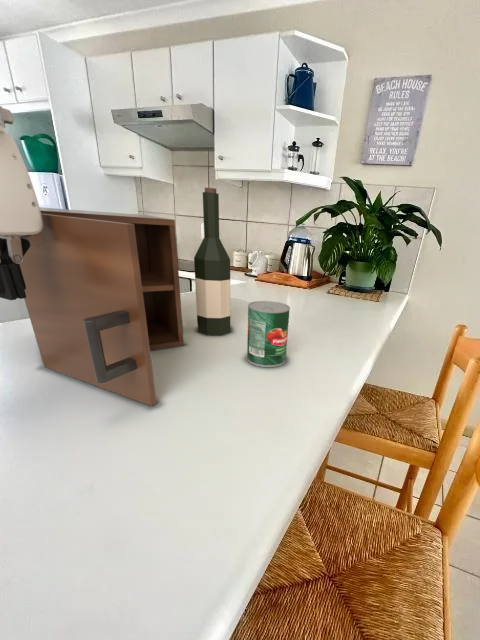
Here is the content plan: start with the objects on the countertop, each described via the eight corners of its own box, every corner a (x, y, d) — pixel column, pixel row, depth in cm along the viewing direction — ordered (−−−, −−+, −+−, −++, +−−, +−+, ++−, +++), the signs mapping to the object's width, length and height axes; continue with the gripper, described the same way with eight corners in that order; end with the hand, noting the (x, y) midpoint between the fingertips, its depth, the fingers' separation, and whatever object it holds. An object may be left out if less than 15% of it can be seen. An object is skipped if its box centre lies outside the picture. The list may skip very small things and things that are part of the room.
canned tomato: (251, 350, 69) (252, 298, 64) (287, 354, 69) (291, 303, 64) (242, 365, 62) (243, 308, 57) (283, 369, 62) (287, 313, 57)
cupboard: (184, 345, 69) (174, 219, 58) (47, 365, 56) (1, 207, 45) (159, 321, 81) (147, 215, 70) (43, 333, 68) (6, 204, 57)
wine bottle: (237, 333, 78) (238, 190, 65) (204, 337, 74) (198, 185, 60) (223, 323, 84) (221, 190, 71) (191, 327, 80) (183, 186, 66)
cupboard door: (119, 424, 42) (80, 222, 31) (7, 379, 50) (-55, 206, 39) (156, 403, 47) (134, 224, 37) (50, 364, 55) (5, 209, 45)
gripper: (13, 129, 39) (53, 285, 47) (-190, 81, 27) (-87, 304, 35) (54, 127, 36) (89, 292, 45) (-150, 73, 24) (-49, 315, 32)
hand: (11, 297), depth 40 cm, fingers closed
